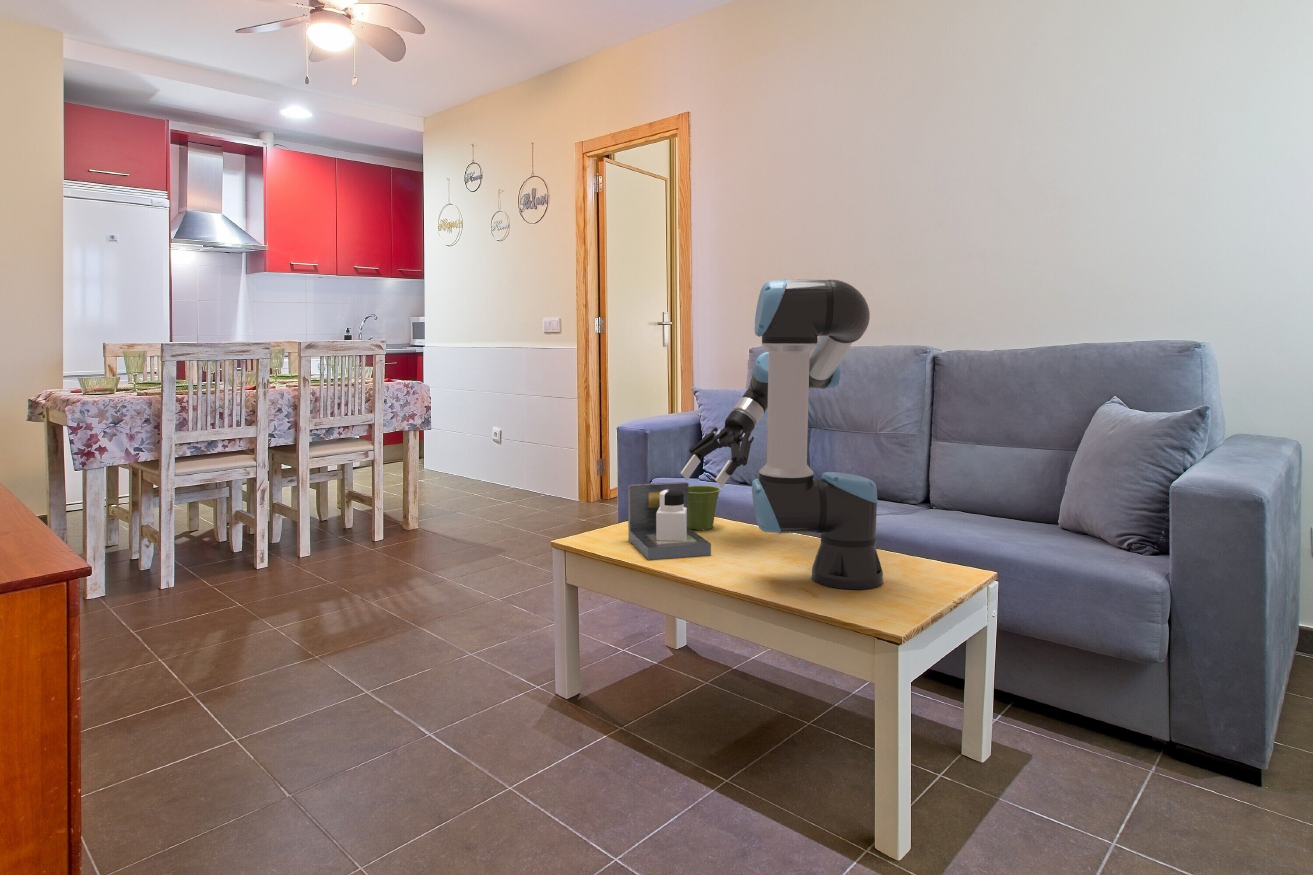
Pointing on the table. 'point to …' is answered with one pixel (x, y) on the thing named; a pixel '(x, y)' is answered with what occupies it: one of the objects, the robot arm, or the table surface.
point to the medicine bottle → (671, 516)
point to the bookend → (644, 524)
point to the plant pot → (702, 506)
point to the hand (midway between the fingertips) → (700, 480)
